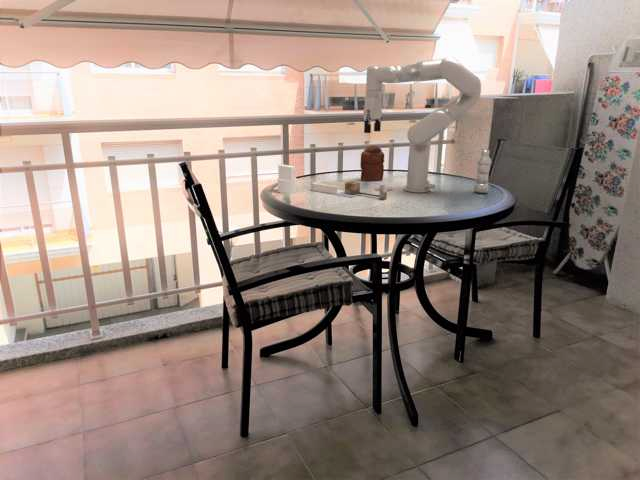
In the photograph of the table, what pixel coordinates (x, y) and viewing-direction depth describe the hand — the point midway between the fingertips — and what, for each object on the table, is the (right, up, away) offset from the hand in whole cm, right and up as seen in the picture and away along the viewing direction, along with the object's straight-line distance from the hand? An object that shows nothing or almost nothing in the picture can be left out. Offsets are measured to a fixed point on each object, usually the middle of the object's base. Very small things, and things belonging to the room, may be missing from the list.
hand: (372, 132), depth 226 cm
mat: (-11, -30, -8) cm, 33 cm away
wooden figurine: (+2, -20, +23) cm, 31 cm away
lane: (-21, -28, -1) cm, 35 cm away
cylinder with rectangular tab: (-40, -29, -3) cm, 50 cm away
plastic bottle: (+50, -30, -4) cm, 59 cm away
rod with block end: (-4, -31, -12) cm, 34 cm away
